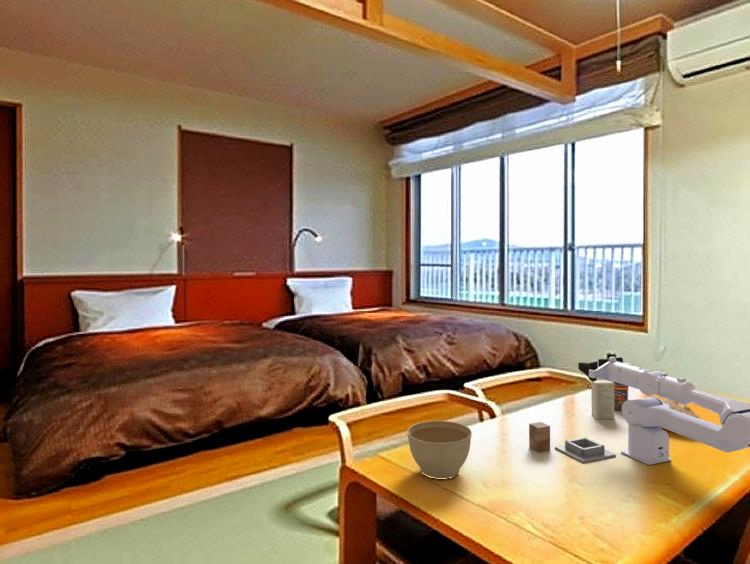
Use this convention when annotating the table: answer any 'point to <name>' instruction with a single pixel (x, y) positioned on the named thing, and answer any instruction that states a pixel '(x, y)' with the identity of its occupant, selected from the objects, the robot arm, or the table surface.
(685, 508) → the table surface
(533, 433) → the walnut block
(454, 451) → the planter bowl
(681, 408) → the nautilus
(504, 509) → the table surface
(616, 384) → the supplement bottle
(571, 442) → the stand
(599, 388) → the skincare box
